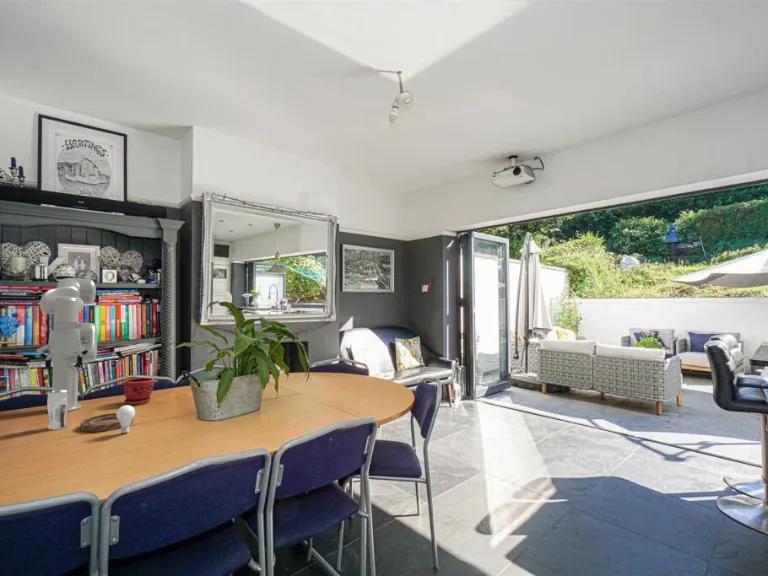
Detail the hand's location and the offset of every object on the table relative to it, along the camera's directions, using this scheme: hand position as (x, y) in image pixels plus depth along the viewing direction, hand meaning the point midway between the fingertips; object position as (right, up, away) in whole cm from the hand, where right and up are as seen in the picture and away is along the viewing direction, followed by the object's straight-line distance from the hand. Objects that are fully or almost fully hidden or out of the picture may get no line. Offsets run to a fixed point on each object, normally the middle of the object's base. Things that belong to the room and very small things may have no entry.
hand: (64, 367), depth 159 cm
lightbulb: (+30, -25, -6) cm, 39 cm away
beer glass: (-2, -25, 0) cm, 25 cm away
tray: (+16, -25, +4) cm, 30 cm away
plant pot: (+6, -27, +39) cm, 48 cm away
